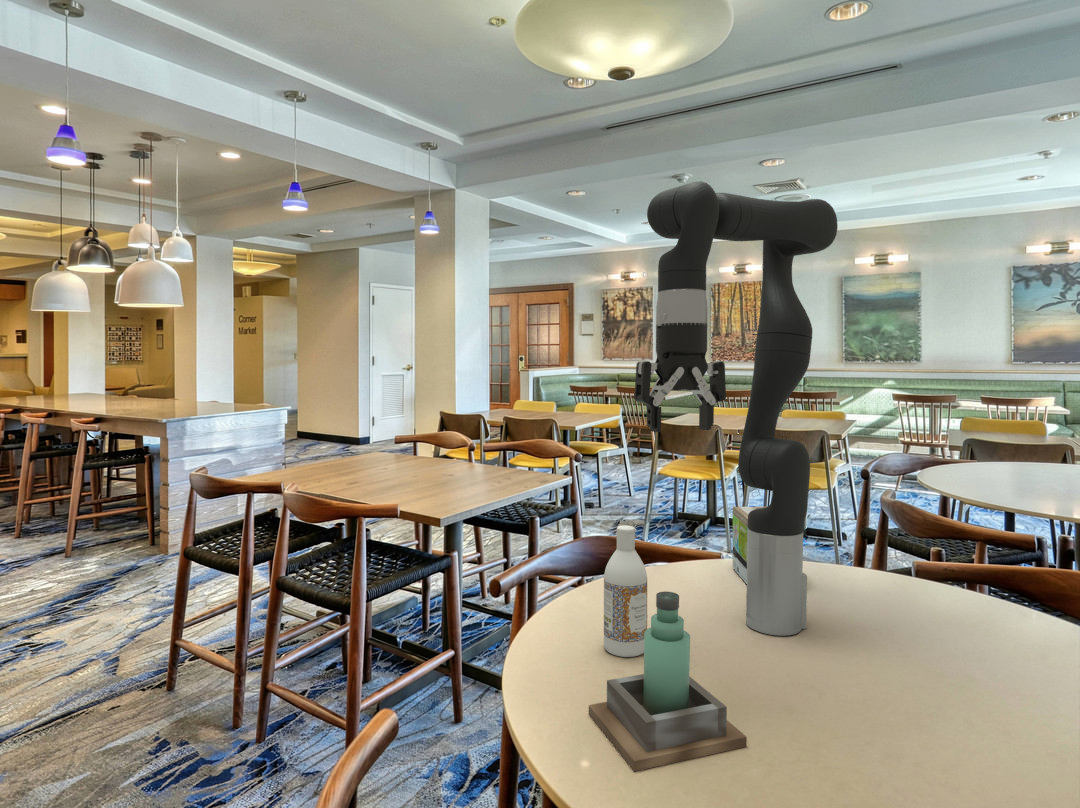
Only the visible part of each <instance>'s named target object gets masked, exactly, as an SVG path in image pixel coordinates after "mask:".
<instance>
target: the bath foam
mask: <svg viewBox="0 0 1080 808" xmlns="http://www.w3.org/2000/svg"><path fill="white" fill-rule="evenodd" d="M635 547H636V528H635V527H634V526H633V525H626V524H625V525H618V526H617V527H616V550H615V551H614V552H613V554H612V555H611V557H610V558H609V560H608V562H607V564H606V566H605V570H604V575H603V647H604V649H605V651H607V652H608V653H609V654H612V655H613V656H617V657H621V658H622V657H623V658H634V657H637V656H641V655H644V632H645V630H647V629H648V574H647V569H646V567H645V565H644V562H643V560H642V559H641V557H640V555H639V554H638V553H637V550H636V549H635Z"/></svg>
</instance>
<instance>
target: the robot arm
mask: <svg viewBox="0 0 1080 808" xmlns="http://www.w3.org/2000/svg"><path fill="white" fill-rule="evenodd" d="M646 215H647V216H646V218H647V222H648V224H649V226H650V228H651V229H652V231H653V232H654V233H656V234H657V235H658V236H659V237H662V238H665V239H667V240H668V239H670V240H677V242H676V245H674V247H672V248H671V249H669V250H668V251H666V252H665V253H663V254H662V255H661V256H660V258H659V260H658V264H657V265H658V267H657V299H656V306H655V354H656V359H655V362H650V361H648V360H647V361H645V360H642V361H641V360H640V361H638V362H636V365H635V381H634V383H635V384H634V400H635V402H638V403H641V404H644V405H645V406H646V426H647V428H648V429H649V431H650V432H653V433H661V432H662V406H660V405H661V403H662V402H663V400H664V399H665V397H666V396H667V395H669V394H670V393H671V392H672V391H690V392H691V393H692V394H693V395H695V397H696V398H697V399H698V400H697V401H699V403H700V404H699V405H698V406H699V407H698V408H699V409H698V414H699V415H698V416H699V419H698V421H699V422H698V424H699V425H698V428H699V429H700V430H701V431H710V430H711V429H712V427H713V425H714V421H715V419H714V415H715V405H716V404H717V403H719V402H722V401H726V399H727V393H726V392H727V390H726V389H727V386H726V383H727V382H726V365H725V362H724V361H710V362H707V359H706V354H707V351H708V316H709V315H708V299H707V264H708V263H707V262H708V258H709V256H710V253H711V249H712V244H713V241H714V240H720V241H729V242H756V241H758V242H759V241H762V282H761V283H762V284H761V299H760V309H759V316H758V317H759V319H758V323H757V325H758V327H757V332H756V340H755V350H754V351H755V352H754V363H753V373H752V380H751V381H752V383H751V389H750V396H749V403H748V409H747V413H746V418H745V424H744V427H743V432H742V438H741V442H740V446H739V453H738V473H739V476H740V479H741V481H742V482H743V484H745V485H746V486H747V487H750V488H753V489H759V490H764V491H770V492H771V493H772V494H771V501H770V503H769V505H768V506H767V507H765V506H764V507H765V508H759V509H755V510H752V511H751V512H750V513H749V514H748V525H747V527H748V530H747V585H746V593H745V594H746V602H745V605H746V606H745V624H746V626H747V627H749V628H750V629H752V630H754V631H757V632H759V633H762V634H766V635H771V636H780V637H781V636H783V637H785V636H792V635H797V634H798V633H801V631H802V630H803V629H807V611H808V610H807V602H808V601H807V599H808V575H807V574H806V573H804V571H803V568H804V567H803V566H804V565H803V564H804V563H803V562H804V525H805V520H806V517H807V514H808V507H809V505H808V502H809V489H810V478H811V477H810V476H811V461H810V460H811V459H810V455H809V452H808V449H807V448H806V446H805V445H804V444H803V443H802V442H800V441H799V440H794V439H783V438H776V437H775V436H776V429H777V424H778V420H779V417H780V413H781V411H782V409H783V406H784V405H785V403H786V402H787V400H788V399H789V398H790V396H791V395H792V393H793V392H794V391H795V389H796V388H797V387H798V385H799V384H800V383H801V381H802V379H803V378H804V376H805V375H806V372H807V371H808V367H809V366H810V362H811V361H810V360H811V352H812V351H811V350H812V342H813V326H812V323H811V320H810V317H809V315H808V314H807V313H808V312H807V311H806V309H805V308H804V305H803V304H802V302H801V300H800V299H799V297H798V294H797V292H796V290H795V288H794V283H793V262H794V257H796V256H803V255H809V254H815V253H818V252H822V251H824V250H826V249H827V248H829V247H830V246H831V245H832V244H833V242H834V241H835V239H836V236H837V233H838V217H837V214H836V211H835V209H834V208H833V206H832V205H831V204H830V203H829V202H827V201H826V200H823V199H821V198H819V199H818V198H809V199H805V200H801V201H800V200H799V201H797V200H795V201H791V200H789V201H788V200H785V201H784V200H773V199H771V200H770V199H765V198H764V199H763V198H757V197H751V196H750V197H749V196H744V195H738V194H734V193H728V192H716V191H715V190H714V188H713V187H712V186H711V185H710V184H708V183H707V182H704V181H702V180H701V181H692V182H689V183H686V184H683V185H682V184H681V185H680V186H675V187H673V188H670V189H666V190H663V191H661V192H659V193H657V194H656V195H655V196H654V197H653V198H652V199H651V200H650V202H649V204H648V207H647V210H646ZM654 373H656V375H657V377H658V378H657V379H656V381H655V383H654V384H653V386H652V387H651V381H652V380H651V377H653V375H654ZM706 374H707V375H708V376H709V377H708V378H709V384H708V382H707V381H706V379H705V378H704V376H705V375H706Z"/></svg>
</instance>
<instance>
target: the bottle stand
mask: <svg viewBox="0 0 1080 808" xmlns="http://www.w3.org/2000/svg"><path fill="white" fill-rule="evenodd" d="M643 694H644V673H643V674H642V673H641V674H636V675H631V676H624V677H617V678H613V679H607V680H606V701H604V702H597V703H594V704H593V703H592V704H588V715H589V717H590V718H591V719H592V720H593V721H594V723H595V724H596V725H597V726H598V727H599V729H600V731H601V732H602V733H603V734H604V735H605V737H606V738H607V739H608V740H609V742H610V743H611V744H612V745H613V747H614V748H615V749H616V750H617V751H618V753H619V754H620V756H622V758H623V759H624V761H625V760H626V761H625V762H626V764H628V765H630V766H629V767H630V768H631V769H632V770H633V772H639V771H643V770H648V769H652V768H656V767H660V766H661V767H662V766H664V765H669V764H671V765H672V764H674V763H675V764H676V763H679V762H684V761H687V760H693V759H697V758H702V757H707V756H709V755H714V754H719V753H723V752H728V751H733V750H737V749H742V748H747V746H748V744H747V741H748V740H747V739H748V738H747V735H745V734H744V733H743V732H742V731H741V730H739V729H738V728H737V727H736V726H735V725H734V724H732V723H731V722H730V721H729V720H728V719H727V716H728V714H727V712H728V710H727V709H728V707H727V706H726V705H725V704H724V703H723V702H722V701H720V700H719V699H718V698H717V697H715V696H714V695H713V694H712V693H711V692H709V691H708V690H707V689H705V688H704V687H703V686H702V685H701V684H699V683H698V682H697V681H696V680H694V678H692V677H691V676H690V675H689V708H688V709H682V710H677V711H672V712H667V713H662V714H657V715H650V714H649V713H648V712H647V711H646V710H645V709H644V708H643Z"/></svg>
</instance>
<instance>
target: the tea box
mask: <svg viewBox="0 0 1080 808" xmlns="http://www.w3.org/2000/svg"><path fill="white" fill-rule="evenodd" d="M765 507H767V506H732V568H734V569H735V570H734V569H733V570H734V571H735V572H736V573H737V574H739V575H738V576H739V577H740V578H741V580H742V579H743V580H744V581H743V580H742V581H743V582H744V583H745V584H747V530H748V527H747V525H748V514H749V513H750V512H751V511H752V510H755V509H759V508H765Z"/></svg>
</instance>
